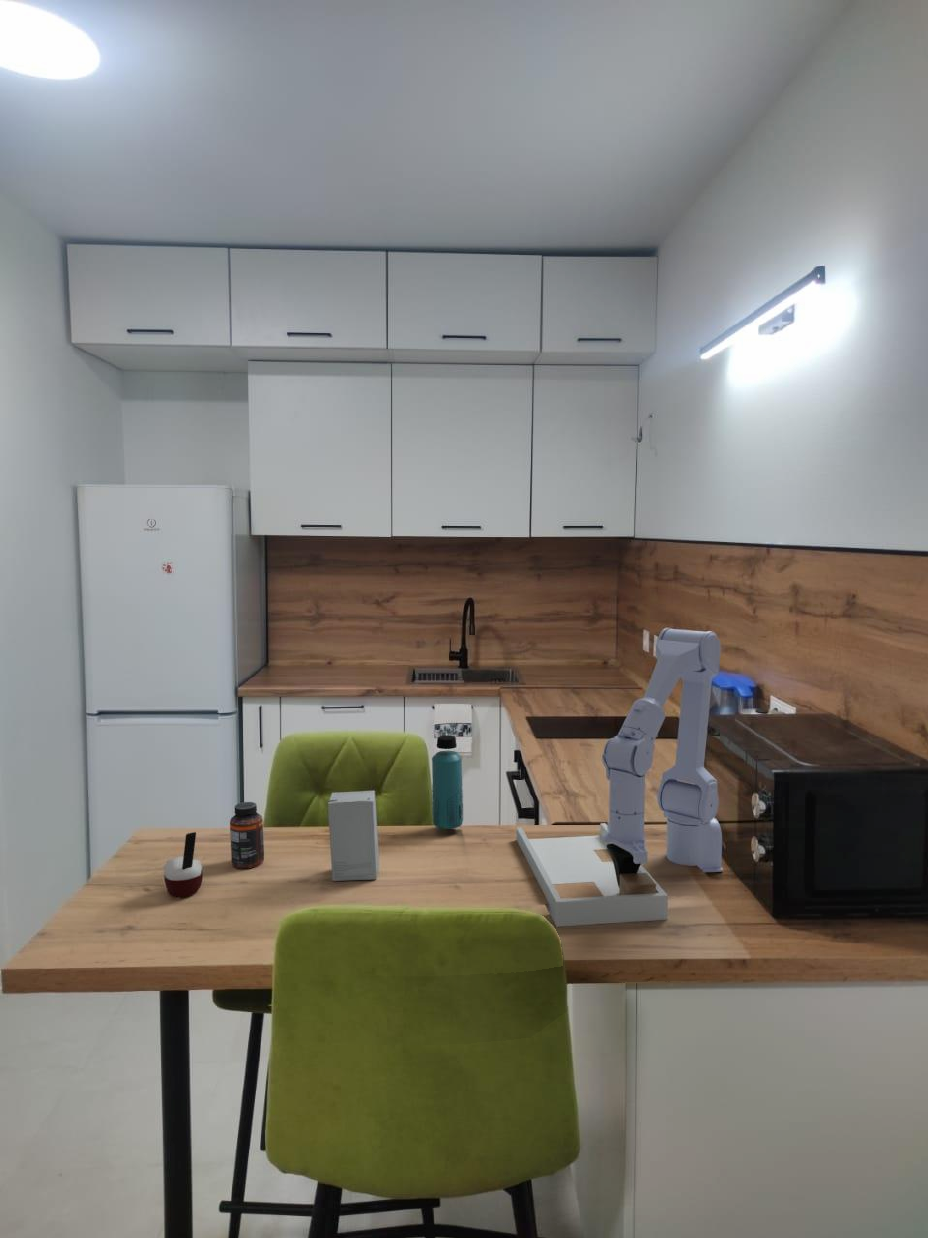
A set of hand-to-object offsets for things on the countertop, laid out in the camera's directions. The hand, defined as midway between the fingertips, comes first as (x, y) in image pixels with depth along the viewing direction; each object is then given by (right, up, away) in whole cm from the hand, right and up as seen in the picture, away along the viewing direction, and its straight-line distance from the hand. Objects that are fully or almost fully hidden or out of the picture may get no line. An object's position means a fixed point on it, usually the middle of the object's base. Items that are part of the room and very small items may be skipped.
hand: (625, 888), depth 132 cm
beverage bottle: (-30, +1, +34) cm, 45 cm away
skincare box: (-47, -2, +11) cm, 48 cm away
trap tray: (-6, -1, +9) cm, 11 cm away
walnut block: (+1, -1, -4) cm, 4 cm away
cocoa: (-75, -3, +4) cm, 75 cm away
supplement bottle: (-68, -1, +17) cm, 70 cm away
